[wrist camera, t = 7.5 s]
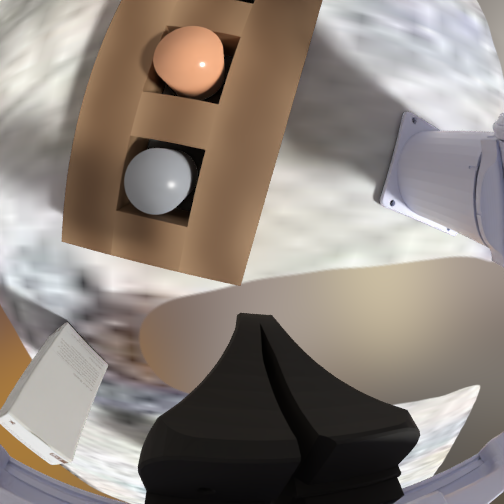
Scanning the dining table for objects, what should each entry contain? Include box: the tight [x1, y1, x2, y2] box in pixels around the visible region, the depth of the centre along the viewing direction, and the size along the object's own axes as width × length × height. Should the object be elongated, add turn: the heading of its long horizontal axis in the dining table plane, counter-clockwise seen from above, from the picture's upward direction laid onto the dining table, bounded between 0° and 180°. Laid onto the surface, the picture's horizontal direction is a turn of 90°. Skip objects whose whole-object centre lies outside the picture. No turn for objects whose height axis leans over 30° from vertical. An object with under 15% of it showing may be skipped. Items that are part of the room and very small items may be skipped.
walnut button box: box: [62, 0, 322, 286], centre depth 14 cm, size 12×24×4 cm, turn 165°
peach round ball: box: [153, 26, 225, 100], centre depth 13 cm, size 4×4×4 cm
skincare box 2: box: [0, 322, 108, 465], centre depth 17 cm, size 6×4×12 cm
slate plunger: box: [124, 148, 198, 215], centre depth 16 cm, size 4×4×4 cm
